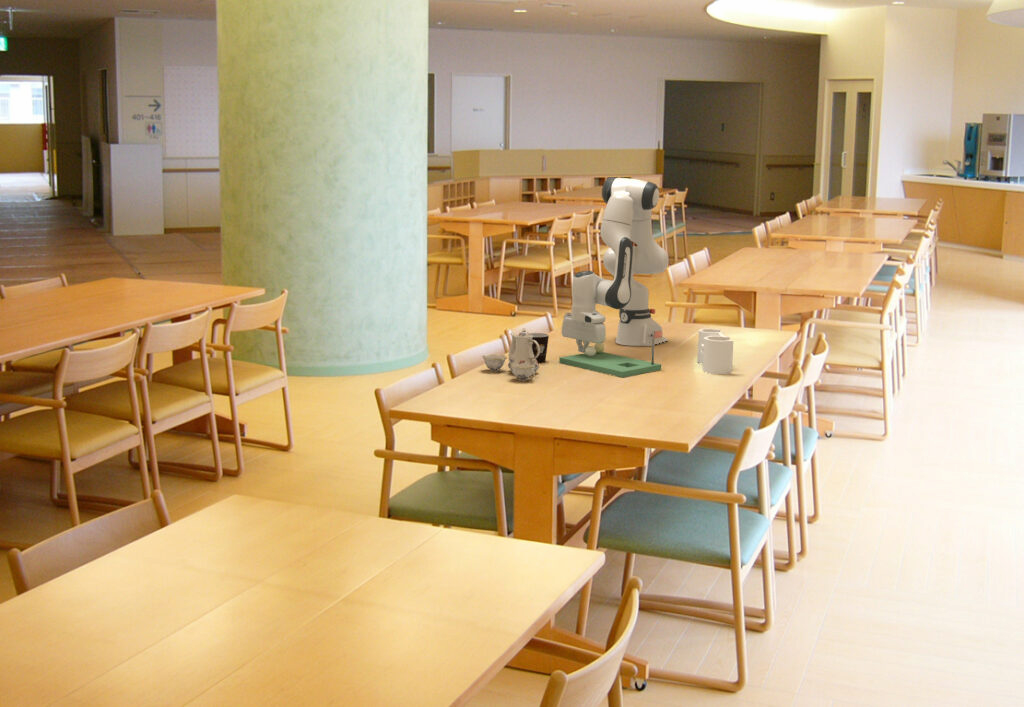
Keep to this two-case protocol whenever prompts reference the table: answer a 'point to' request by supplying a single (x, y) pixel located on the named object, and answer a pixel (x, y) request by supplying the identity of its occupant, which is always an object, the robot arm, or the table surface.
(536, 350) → the coffee mug
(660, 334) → the pin
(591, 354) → the ball
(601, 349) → the ball
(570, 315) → the robot arm
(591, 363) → the green
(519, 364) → the chinaware
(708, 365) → the cylindrical containers
